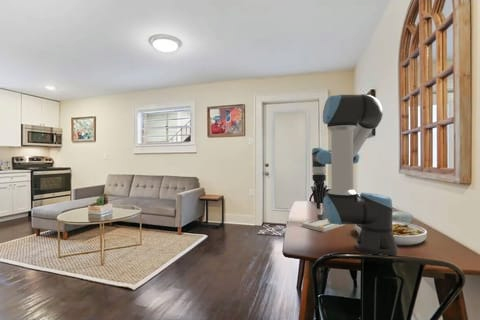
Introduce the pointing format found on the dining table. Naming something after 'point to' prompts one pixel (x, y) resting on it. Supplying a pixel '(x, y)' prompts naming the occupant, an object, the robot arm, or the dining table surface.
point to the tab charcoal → (322, 216)
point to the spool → (402, 217)
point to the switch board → (320, 225)
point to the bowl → (405, 233)
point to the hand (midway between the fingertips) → (319, 214)
